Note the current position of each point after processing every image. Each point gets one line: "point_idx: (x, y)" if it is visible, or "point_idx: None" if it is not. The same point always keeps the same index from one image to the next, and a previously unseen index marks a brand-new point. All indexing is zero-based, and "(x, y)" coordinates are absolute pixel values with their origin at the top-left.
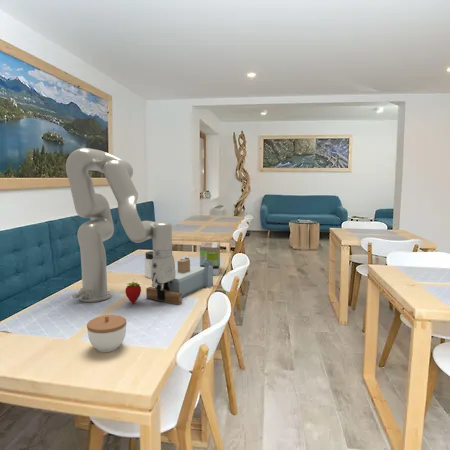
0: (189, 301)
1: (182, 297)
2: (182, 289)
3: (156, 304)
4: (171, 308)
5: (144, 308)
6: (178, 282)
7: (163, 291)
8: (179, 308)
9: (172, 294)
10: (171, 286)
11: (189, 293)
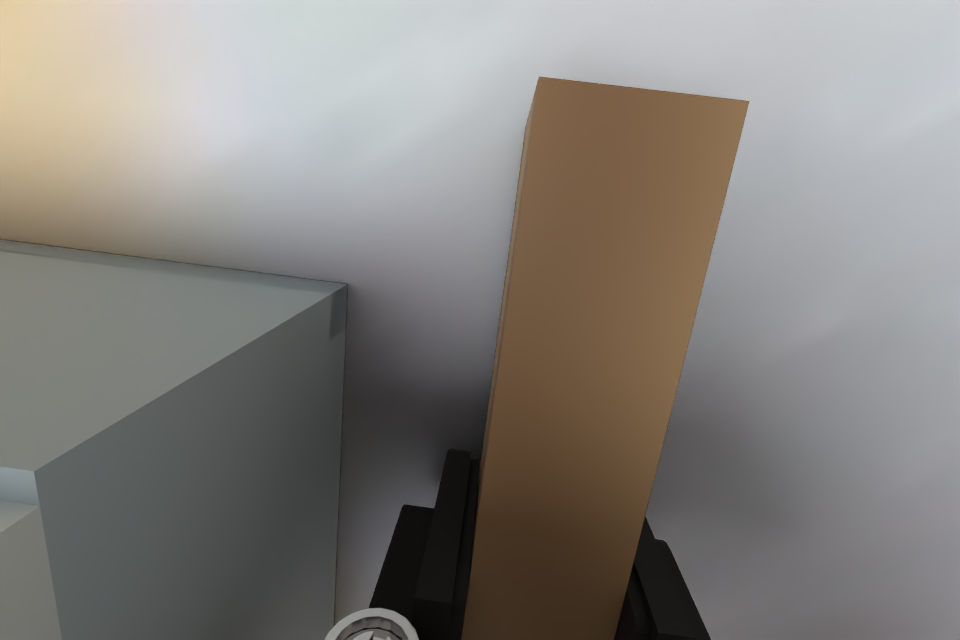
0: (368, 26)
1: (252, 273)
2: (127, 311)
3: (723, 506)
4: (860, 173)
5: (941, 578)
6: (52, 509)
7: (687, 619)
8: (828, 9)
9: (679, 333)
10: (228, 617)
11: (15, 244)
